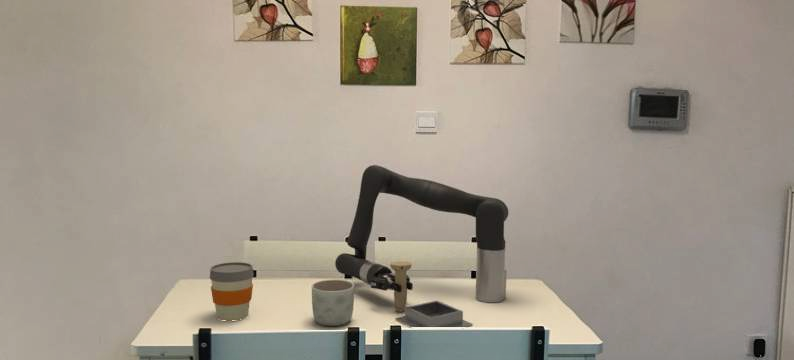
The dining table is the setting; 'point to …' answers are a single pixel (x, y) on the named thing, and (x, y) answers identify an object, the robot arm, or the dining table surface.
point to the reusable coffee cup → (231, 289)
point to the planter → (332, 302)
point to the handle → (400, 278)
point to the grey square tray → (433, 316)
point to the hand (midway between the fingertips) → (406, 287)
